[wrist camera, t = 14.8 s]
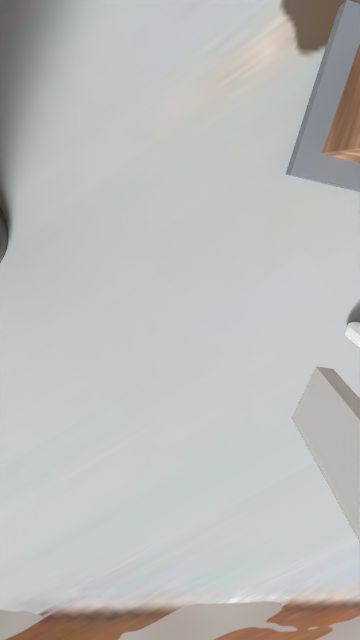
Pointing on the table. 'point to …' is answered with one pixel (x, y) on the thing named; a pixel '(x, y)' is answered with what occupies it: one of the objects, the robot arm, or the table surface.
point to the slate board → (329, 107)
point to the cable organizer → (353, 332)
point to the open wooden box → (347, 119)
